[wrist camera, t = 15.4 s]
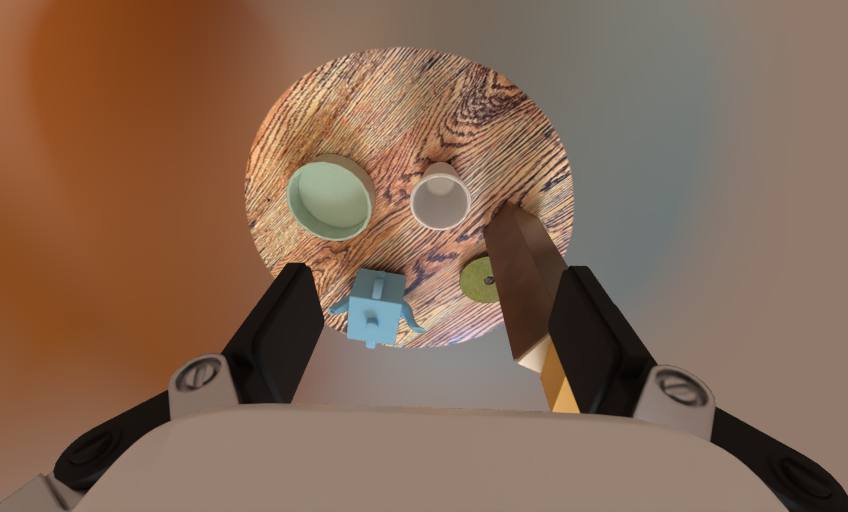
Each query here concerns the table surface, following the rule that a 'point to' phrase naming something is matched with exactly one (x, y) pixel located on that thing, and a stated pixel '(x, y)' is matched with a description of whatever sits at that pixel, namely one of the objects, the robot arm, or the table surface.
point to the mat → (479, 281)
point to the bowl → (331, 197)
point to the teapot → (376, 307)
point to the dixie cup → (440, 198)
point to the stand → (524, 280)
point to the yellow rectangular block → (557, 385)
